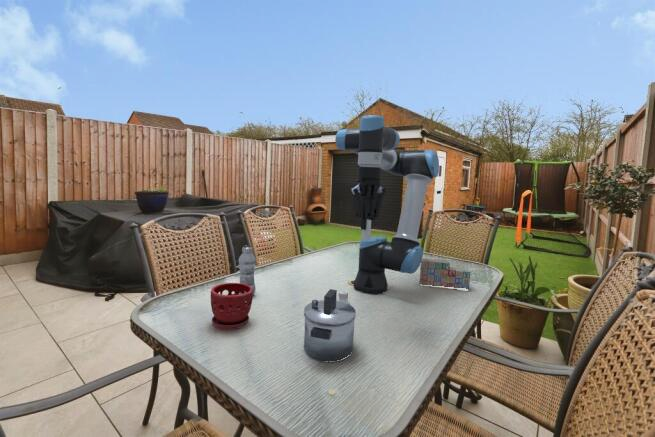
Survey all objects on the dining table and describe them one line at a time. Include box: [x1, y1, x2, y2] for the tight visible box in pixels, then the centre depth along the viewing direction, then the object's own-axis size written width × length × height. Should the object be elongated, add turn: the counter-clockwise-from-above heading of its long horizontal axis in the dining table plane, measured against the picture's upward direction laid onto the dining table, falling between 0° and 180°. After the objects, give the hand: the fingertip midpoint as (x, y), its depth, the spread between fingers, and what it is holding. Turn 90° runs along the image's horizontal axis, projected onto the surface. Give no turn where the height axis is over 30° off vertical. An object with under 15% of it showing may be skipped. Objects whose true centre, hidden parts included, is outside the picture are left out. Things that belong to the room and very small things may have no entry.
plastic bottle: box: [238, 245, 256, 296], centre depth 129 cm, size 6×7×20 cm
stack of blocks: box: [419, 257, 471, 289], centre depth 150 cm, size 21×6×12 cm, turn 75°
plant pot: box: [210, 282, 254, 330], centre depth 105 cm, size 13×13×12 cm
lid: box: [303, 288, 357, 326], centre depth 91 cm, size 15×15×6 cm
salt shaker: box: [336, 290, 351, 305], centre depth 112 cm, size 4×4×10 cm
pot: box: [303, 317, 355, 363], centre depth 92 cm, size 14×19×10 cm
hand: (365, 239), depth 106 cm, fingers closed
